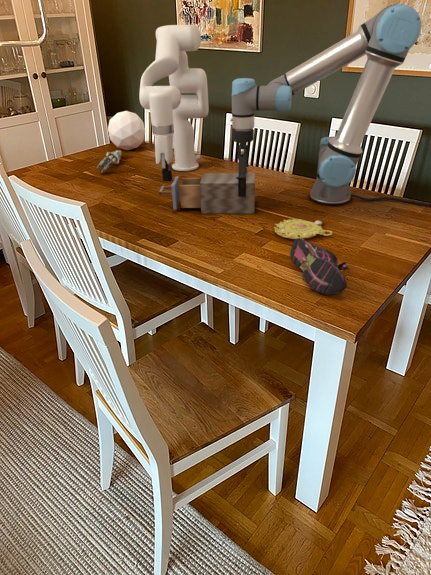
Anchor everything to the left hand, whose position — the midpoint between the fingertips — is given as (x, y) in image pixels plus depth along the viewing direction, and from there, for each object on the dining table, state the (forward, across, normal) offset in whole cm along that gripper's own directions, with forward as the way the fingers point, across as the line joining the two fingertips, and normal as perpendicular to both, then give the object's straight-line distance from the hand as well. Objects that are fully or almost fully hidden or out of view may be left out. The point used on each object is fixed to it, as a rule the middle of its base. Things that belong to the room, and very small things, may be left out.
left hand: (167, 180), depth 163 cm
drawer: (+9, +1, +9) cm, 13 cm away
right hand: (+4, 0, +28) cm, 28 cm away
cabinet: (+10, +1, +22) cm, 25 cm away
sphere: (+12, -81, -36) cm, 89 cm away
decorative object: (+10, +22, +48) cm, 53 cm away
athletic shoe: (+9, +51, +51) cm, 72 cm away
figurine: (+11, -52, -37) cm, 65 cm away
